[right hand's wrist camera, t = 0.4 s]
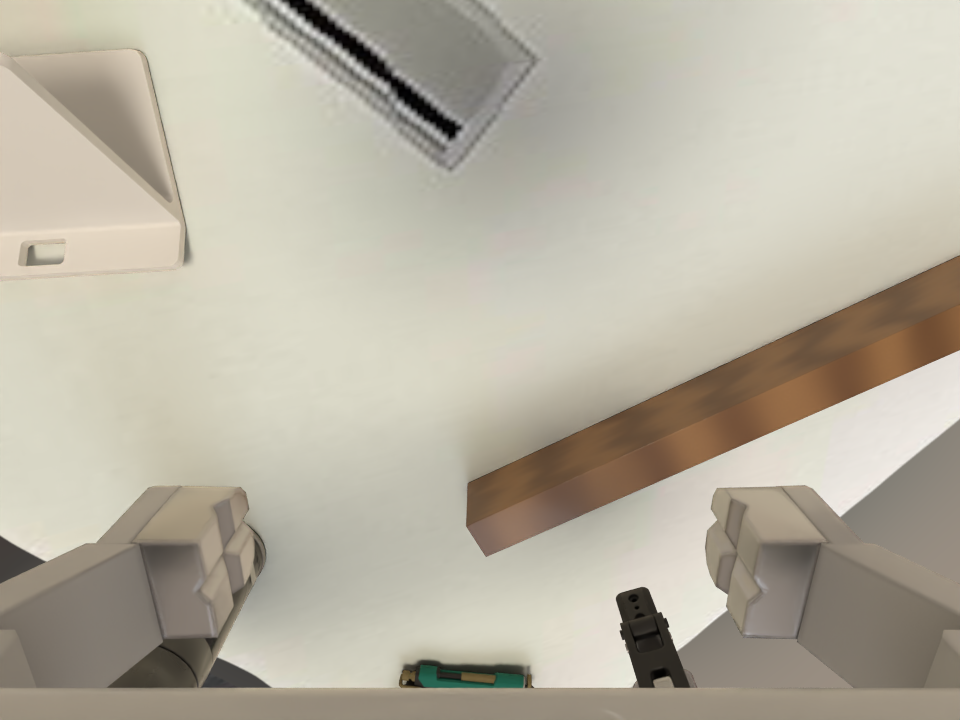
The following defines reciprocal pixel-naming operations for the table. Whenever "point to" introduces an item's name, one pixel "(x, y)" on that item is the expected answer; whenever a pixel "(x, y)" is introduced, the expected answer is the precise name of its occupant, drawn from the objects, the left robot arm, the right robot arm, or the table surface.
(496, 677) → the spray gun
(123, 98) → the tablet stand
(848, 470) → the table surface
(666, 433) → the beam
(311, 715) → the right robot arm
